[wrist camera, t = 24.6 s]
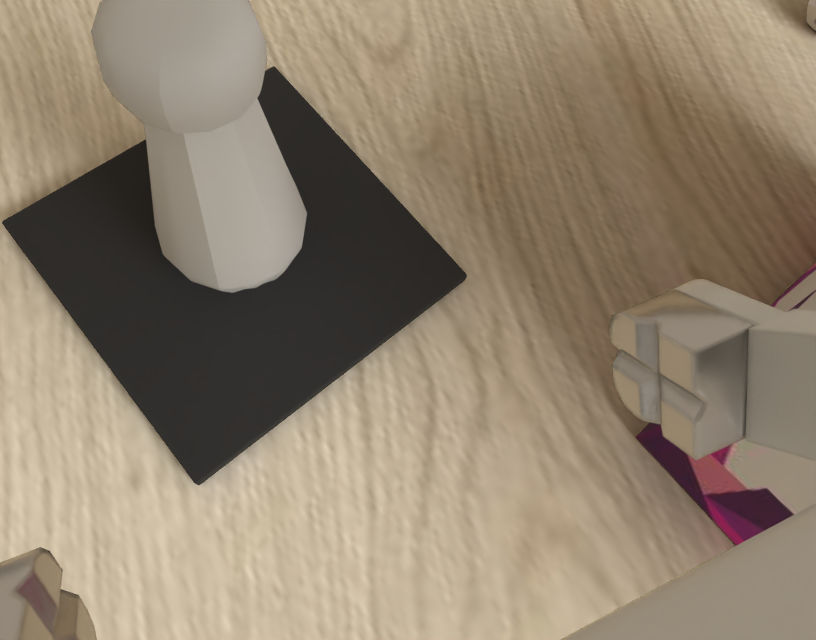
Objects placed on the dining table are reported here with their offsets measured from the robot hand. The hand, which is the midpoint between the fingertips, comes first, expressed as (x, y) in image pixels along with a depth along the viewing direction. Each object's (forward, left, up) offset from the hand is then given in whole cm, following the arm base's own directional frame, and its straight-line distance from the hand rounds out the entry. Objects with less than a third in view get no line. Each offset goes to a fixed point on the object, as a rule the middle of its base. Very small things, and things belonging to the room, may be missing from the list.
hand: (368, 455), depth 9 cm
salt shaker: (+4, +12, -17) cm, 21 cm away
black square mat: (+4, +12, -17) cm, 21 cm away
